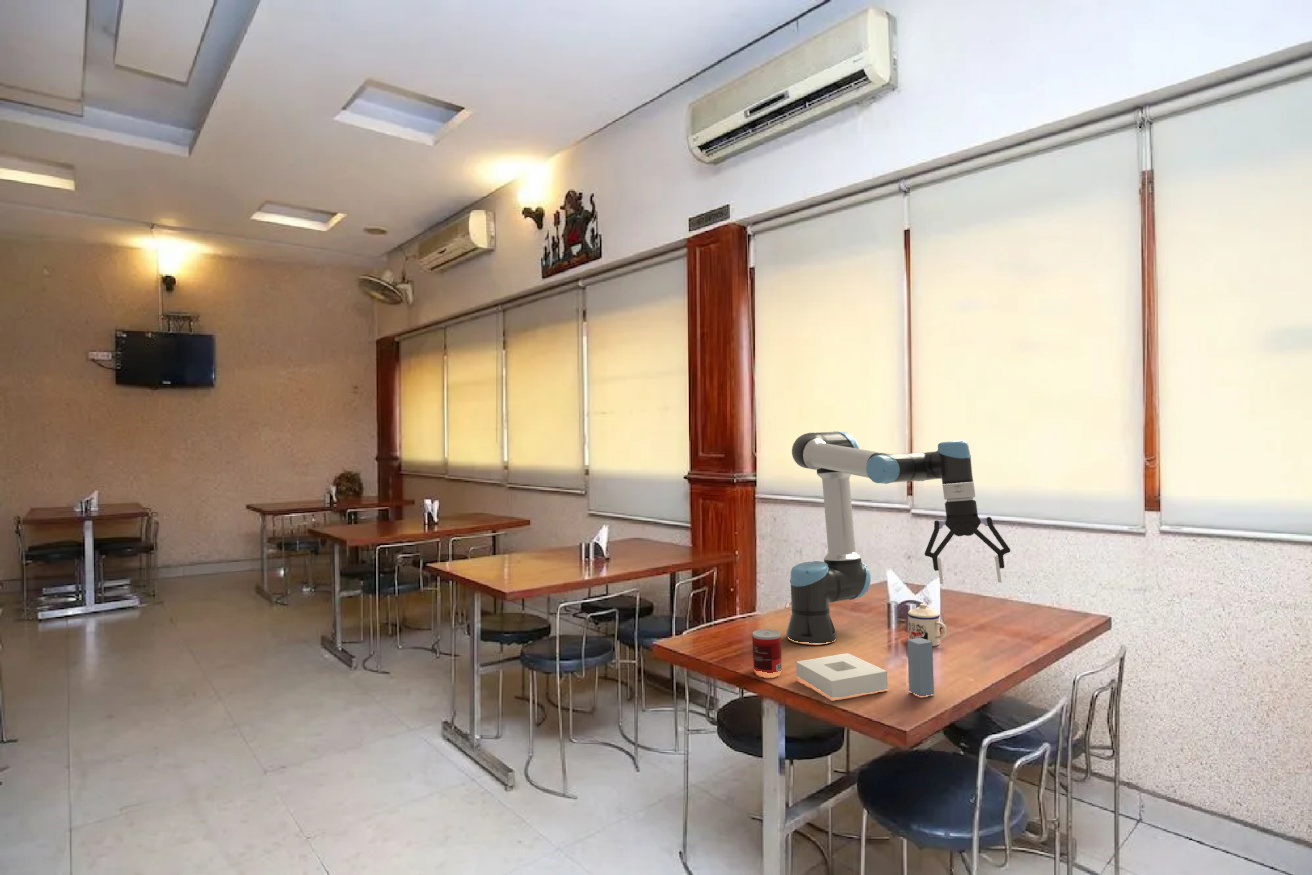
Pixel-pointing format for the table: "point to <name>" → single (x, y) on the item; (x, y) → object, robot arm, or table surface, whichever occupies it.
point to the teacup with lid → (925, 624)
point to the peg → (920, 666)
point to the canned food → (767, 650)
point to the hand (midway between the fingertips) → (970, 582)
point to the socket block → (842, 675)
